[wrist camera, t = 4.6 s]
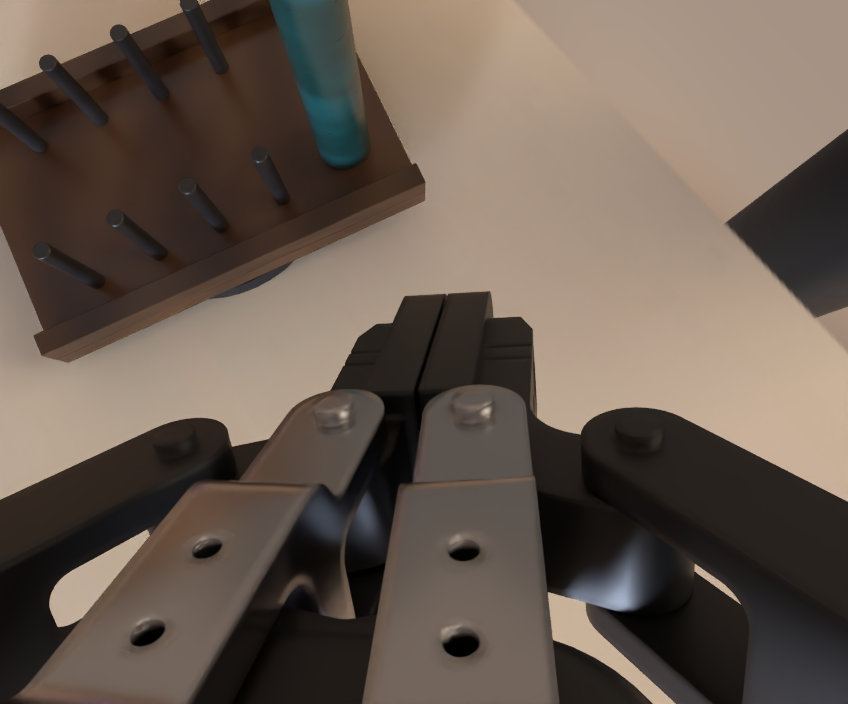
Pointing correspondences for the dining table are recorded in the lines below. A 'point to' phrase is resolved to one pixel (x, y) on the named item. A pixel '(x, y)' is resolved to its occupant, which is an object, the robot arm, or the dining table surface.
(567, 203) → the dining table surface
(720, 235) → the dining table surface
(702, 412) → the dining table surface
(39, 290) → the dish rack
